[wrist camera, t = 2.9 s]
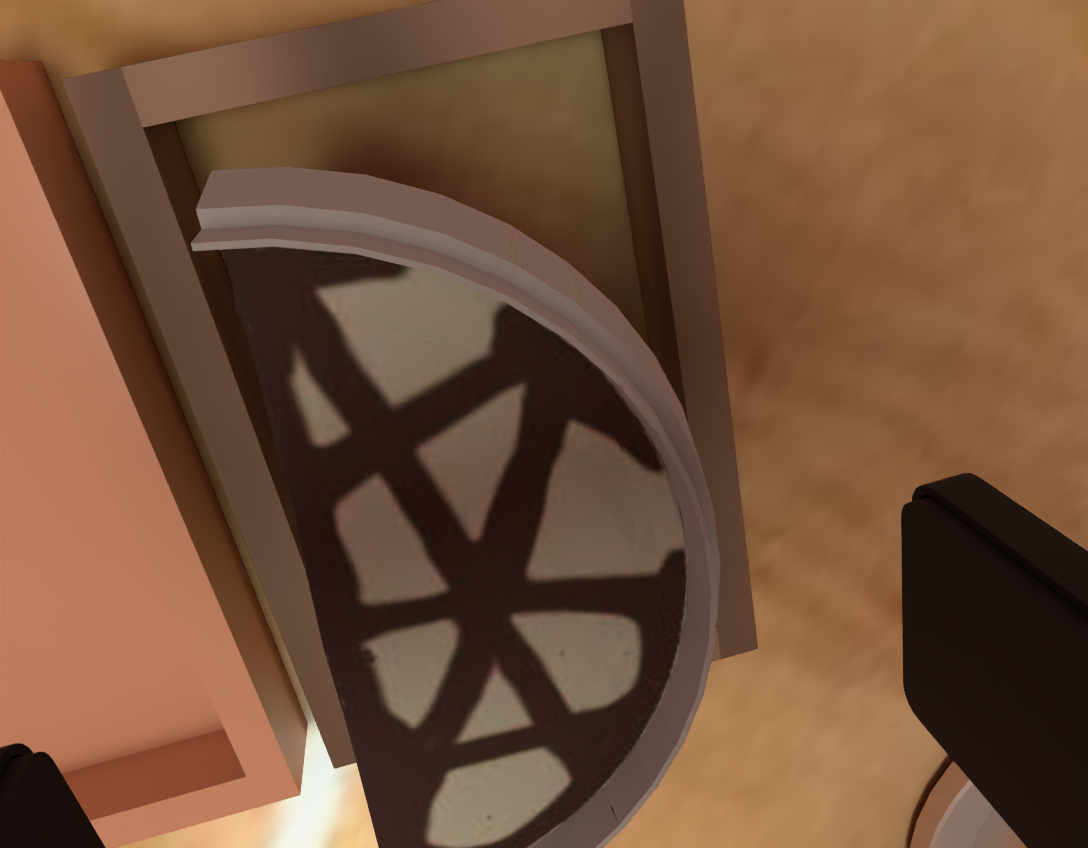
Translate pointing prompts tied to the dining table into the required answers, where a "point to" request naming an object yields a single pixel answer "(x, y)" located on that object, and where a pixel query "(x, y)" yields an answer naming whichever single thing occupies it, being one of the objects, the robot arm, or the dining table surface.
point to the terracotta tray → (115, 529)
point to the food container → (475, 506)
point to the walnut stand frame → (368, 52)
